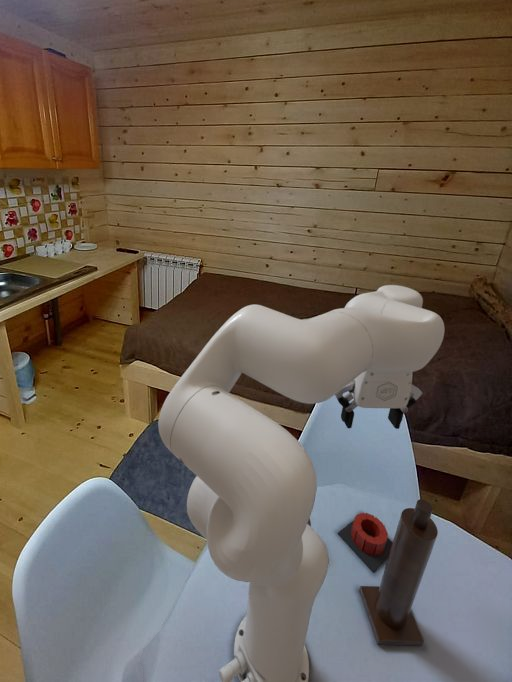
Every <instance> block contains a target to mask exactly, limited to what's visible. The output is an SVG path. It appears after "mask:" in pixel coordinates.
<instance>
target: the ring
mask: <svg viewBox="0 0 512 682" xmlns="http://www.w3.org/2000/svg"><path fill="white" fill-rule="evenodd" d="M353 520H354V521H353ZM353 520H352V521H353V525H352V529H351V535H352V538H353V542H355V544H356V545H357V546H358V548H359V549H360V550H361V551H363V552H364V553H367V554H369V555H372V556H373V555H374V556H376V555H380V554H382V553H383V550H384V548H385V544H386V541H387V537H388V536H389V533H388V531H387V528H386V526H385V524H384V523H383V522H382V521H381V520H380V519H379V518H378V517H377V516H375V515H374V514H370V513H368V512H361V513H357V514H356V515H355V517H354V519H353ZM363 530H366V531H369V532H371V533H372V534H373V535H374V536H375V537H371V536H369V535H367V534H366V533H365V532H364V531H363ZM388 538H389V537H388Z"/></svg>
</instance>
